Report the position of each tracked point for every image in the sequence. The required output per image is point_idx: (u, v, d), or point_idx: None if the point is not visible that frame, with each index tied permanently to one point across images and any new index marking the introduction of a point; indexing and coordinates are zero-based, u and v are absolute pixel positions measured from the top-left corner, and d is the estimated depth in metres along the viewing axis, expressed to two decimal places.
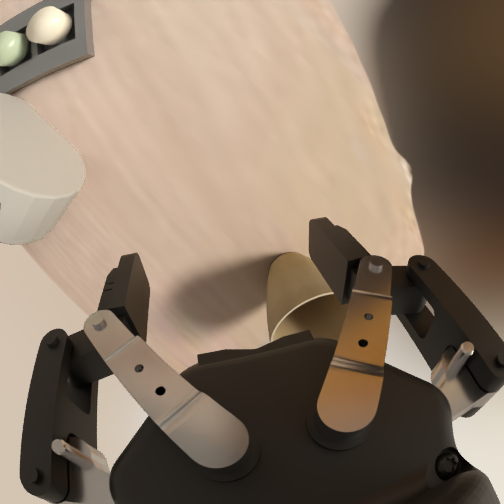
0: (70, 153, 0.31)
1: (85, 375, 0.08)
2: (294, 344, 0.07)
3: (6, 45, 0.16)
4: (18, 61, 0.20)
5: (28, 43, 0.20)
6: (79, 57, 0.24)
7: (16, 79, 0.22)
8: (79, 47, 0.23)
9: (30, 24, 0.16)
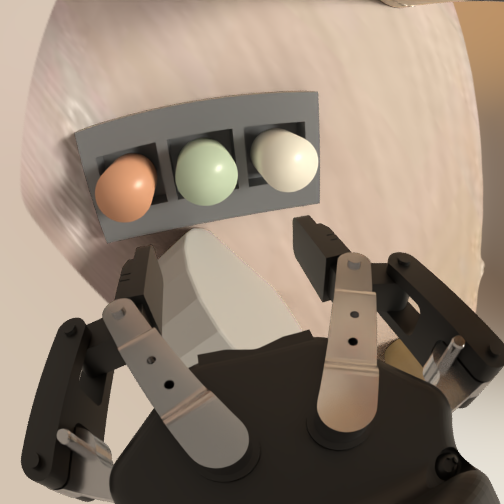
0: (278, 299, 0.37)
1: (102, 364, 0.08)
2: (294, 344, 0.07)
3: (221, 176, 0.22)
4: None
5: None
6: None
7: (210, 212, 0.28)
8: (310, 192, 0.29)
9: (269, 157, 0.22)
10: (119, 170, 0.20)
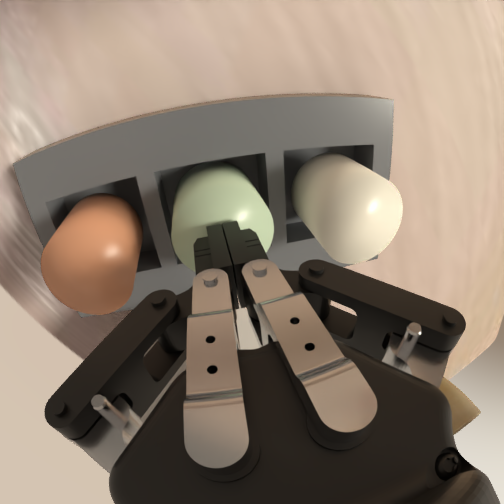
0: None
1: None
2: None
3: None
4: None
5: None
6: None
7: None
8: None
9: (335, 212, 0.13)
10: (72, 239, 0.11)
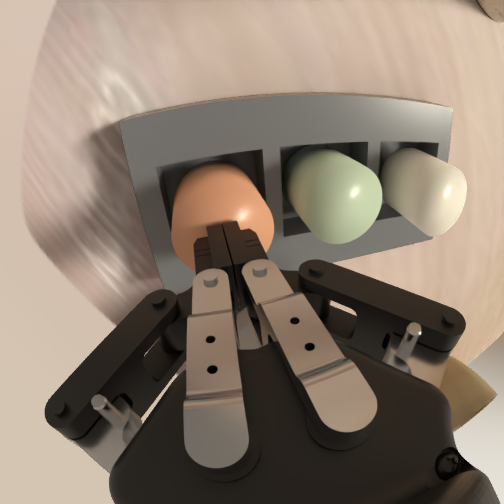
0: None
1: None
2: None
3: (364, 206, 0.16)
4: None
5: None
6: None
7: (323, 253, 0.20)
8: None
9: (429, 192, 0.14)
10: (222, 194, 0.13)
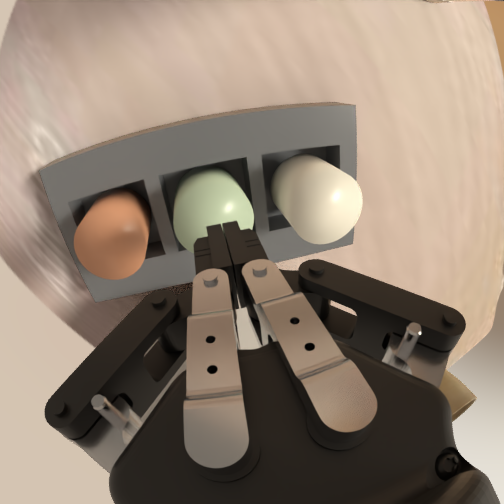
0: None
1: None
2: None
3: None
4: None
5: None
6: None
7: None
8: None
9: (302, 201, 0.16)
10: (100, 218, 0.15)
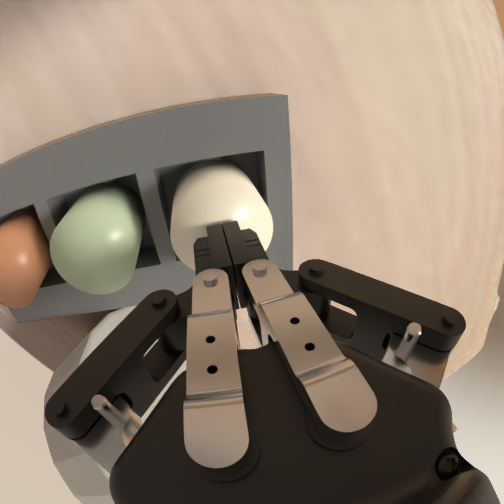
0: None
1: None
2: None
3: (111, 256, 0.13)
4: None
5: (143, 216, 0.17)
6: None
7: (126, 295, 0.18)
8: (277, 262, 0.19)
9: (182, 224, 0.13)
10: None
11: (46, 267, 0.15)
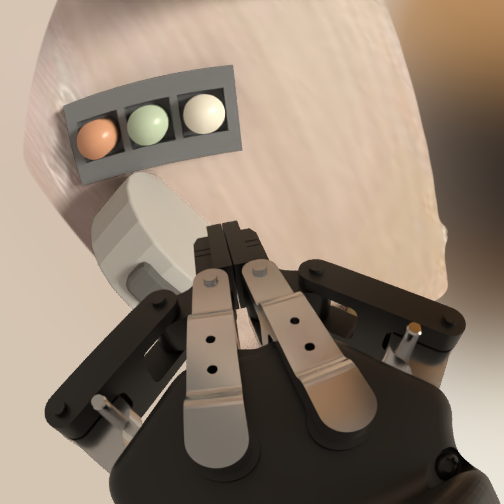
0: None
1: None
2: None
3: (156, 125, 0.30)
4: None
5: (169, 119, 0.34)
6: None
7: (156, 158, 0.35)
8: (233, 141, 0.36)
9: (188, 109, 0.30)
10: (92, 124, 0.28)
11: (116, 141, 0.32)
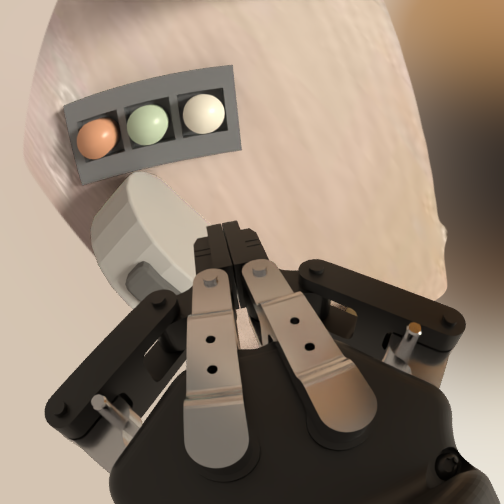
0: None
1: None
2: None
3: (156, 124, 0.30)
4: None
5: None
6: None
7: (155, 158, 0.35)
8: (232, 141, 0.36)
9: (188, 109, 0.30)
10: (92, 124, 0.28)
11: (115, 141, 0.32)
